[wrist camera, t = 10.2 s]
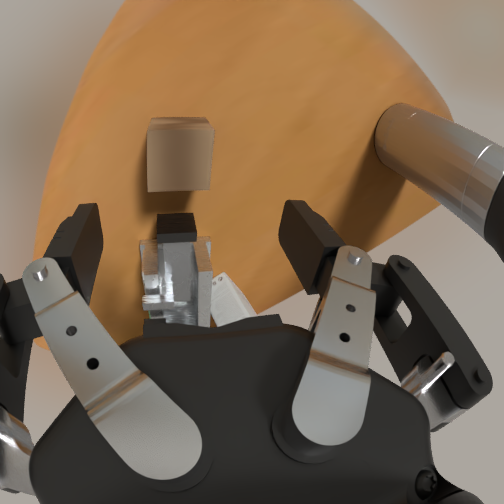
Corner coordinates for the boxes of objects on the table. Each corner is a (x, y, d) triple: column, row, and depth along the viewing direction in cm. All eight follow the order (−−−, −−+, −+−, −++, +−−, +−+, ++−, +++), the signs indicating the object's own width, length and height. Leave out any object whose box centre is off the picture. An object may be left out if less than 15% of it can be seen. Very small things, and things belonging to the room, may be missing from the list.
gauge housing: (209, 236, 32) (218, 270, 27) (206, 302, 38) (214, 336, 34) (140, 240, 29) (137, 275, 25) (149, 306, 36) (151, 342, 31)
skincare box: (197, 288, 36) (232, 365, 27) (225, 268, 36) (267, 342, 27) (220, 308, 40) (255, 377, 31) (245, 291, 40) (285, 358, 32)
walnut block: (205, 117, 23) (214, 130, 19) (201, 165, 26) (209, 190, 22) (152, 117, 22) (147, 130, 17) (151, 167, 25) (147, 192, 20)
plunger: (193, 212, 27) (199, 245, 23) (192, 283, 33) (198, 319, 28) (137, 215, 25) (132, 249, 21) (146, 286, 31) (146, 323, 27)
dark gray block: (165, 317, 28) (167, 336, 27) (166, 322, 29) (168, 341, 27) (144, 319, 28) (144, 338, 26) (145, 324, 28) (146, 343, 26)
